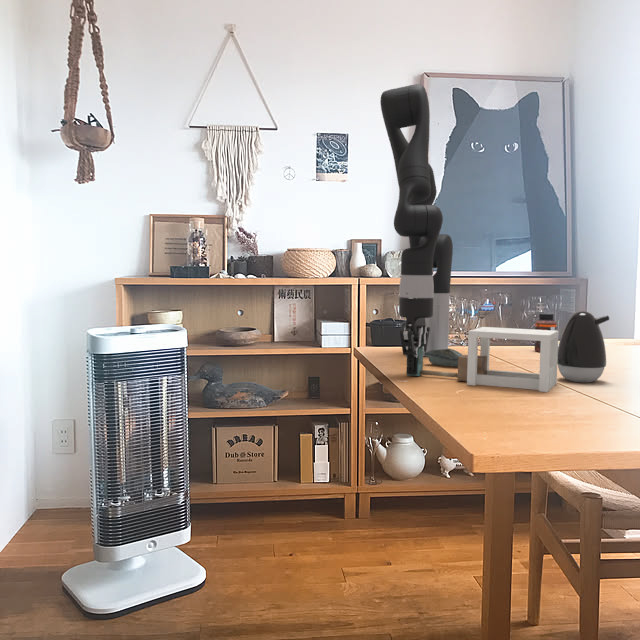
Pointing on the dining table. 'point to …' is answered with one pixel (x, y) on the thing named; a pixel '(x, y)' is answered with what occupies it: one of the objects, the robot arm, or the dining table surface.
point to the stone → (443, 357)
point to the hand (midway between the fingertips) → (414, 372)
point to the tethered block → (460, 375)
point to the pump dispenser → (582, 348)
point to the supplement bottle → (544, 326)
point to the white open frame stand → (507, 378)
